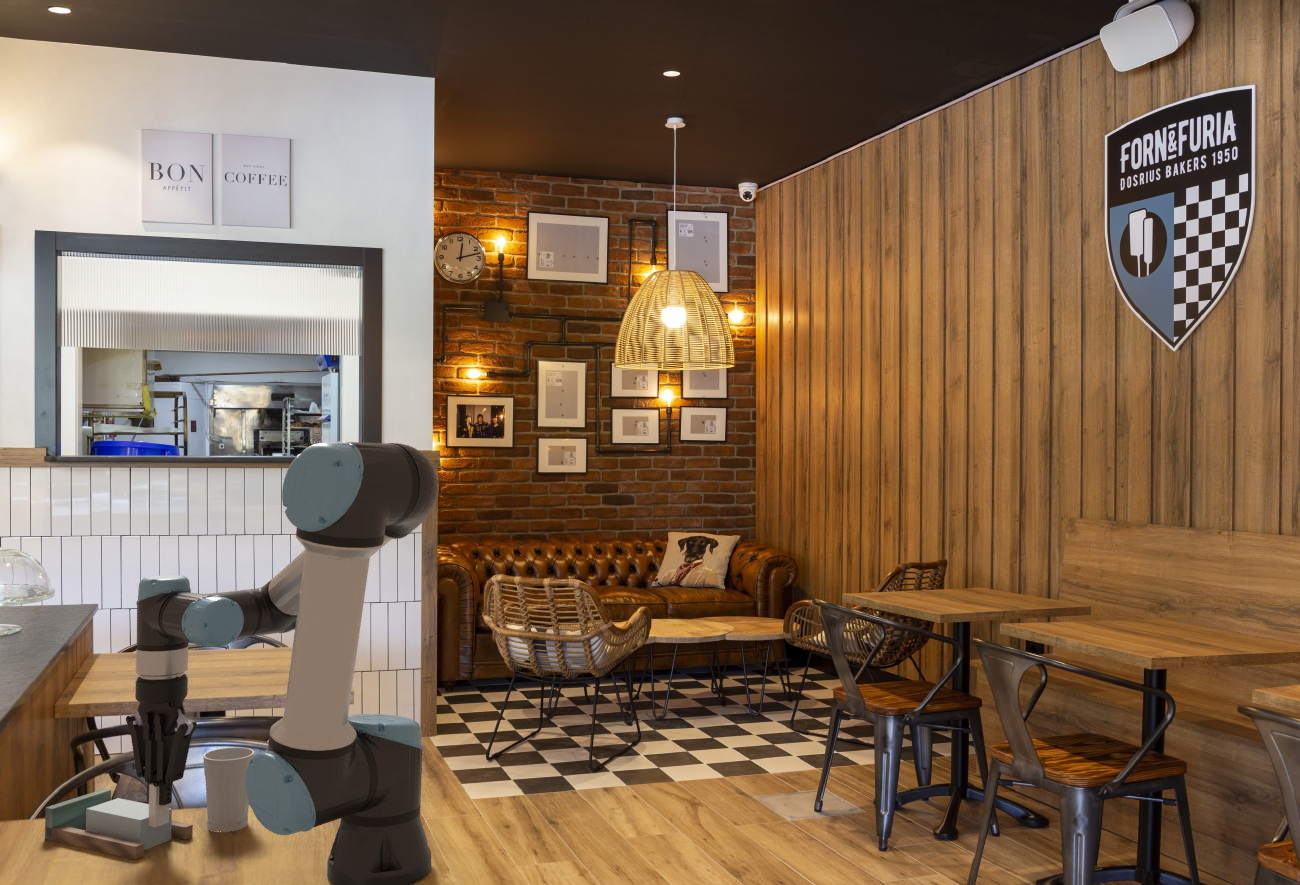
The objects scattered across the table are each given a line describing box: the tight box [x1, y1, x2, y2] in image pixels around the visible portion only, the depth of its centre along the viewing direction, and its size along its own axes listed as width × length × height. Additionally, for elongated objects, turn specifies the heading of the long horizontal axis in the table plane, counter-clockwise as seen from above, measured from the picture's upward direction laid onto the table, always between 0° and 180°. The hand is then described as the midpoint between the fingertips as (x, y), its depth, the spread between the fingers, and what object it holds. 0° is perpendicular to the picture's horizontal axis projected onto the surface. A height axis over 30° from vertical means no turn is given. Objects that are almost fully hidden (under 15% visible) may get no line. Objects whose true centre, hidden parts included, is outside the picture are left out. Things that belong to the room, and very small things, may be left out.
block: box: [85, 797, 173, 851], centre depth 175 cm, size 12×6×5 cm, turn 66°
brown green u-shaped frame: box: [44, 788, 194, 861], centre depth 175 cm, size 20×11×5 cm, turn 66°
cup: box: [202, 746, 255, 833], centre depth 182 cm, size 8×8×12 cm
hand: (158, 824), depth 172 cm, fingers closed
